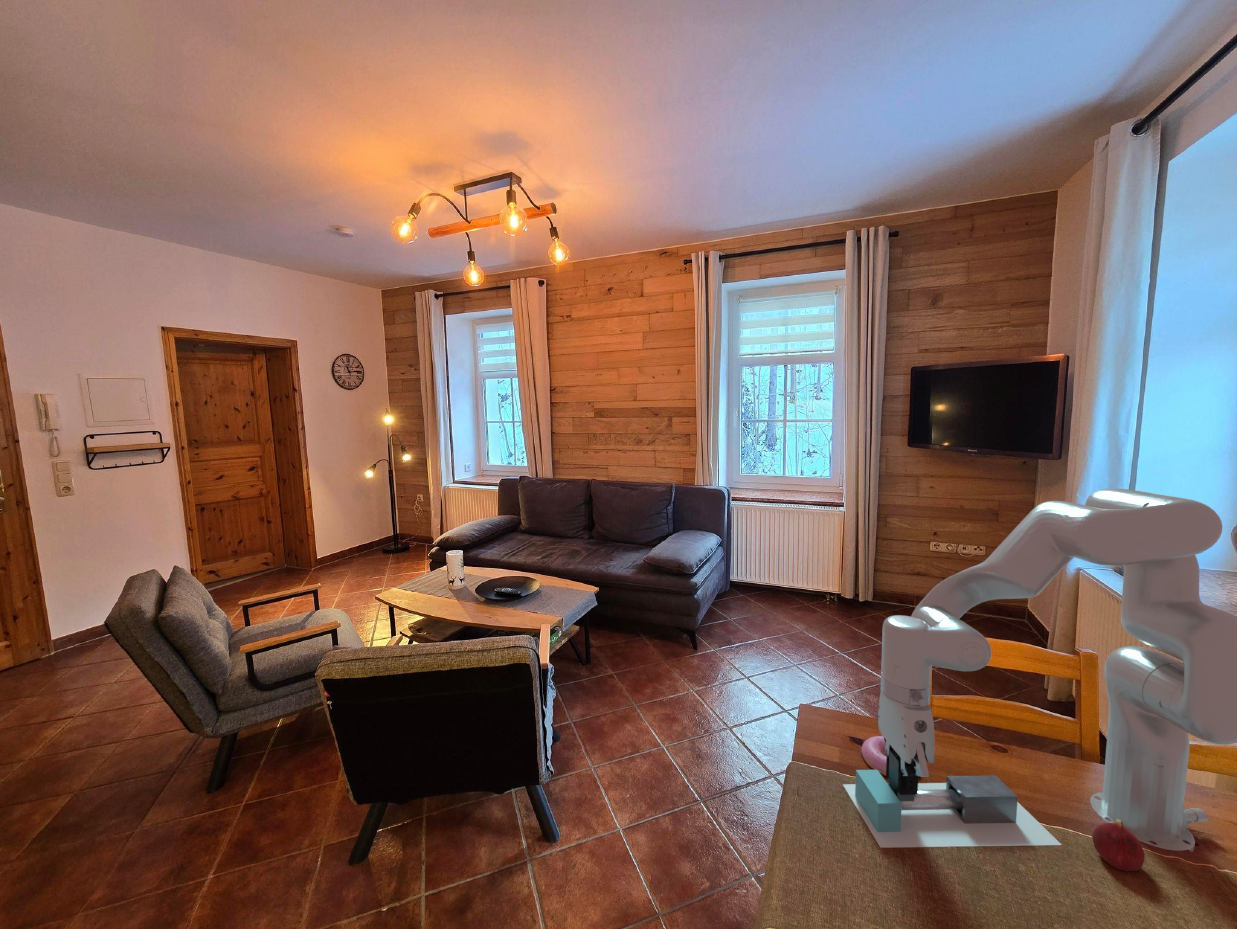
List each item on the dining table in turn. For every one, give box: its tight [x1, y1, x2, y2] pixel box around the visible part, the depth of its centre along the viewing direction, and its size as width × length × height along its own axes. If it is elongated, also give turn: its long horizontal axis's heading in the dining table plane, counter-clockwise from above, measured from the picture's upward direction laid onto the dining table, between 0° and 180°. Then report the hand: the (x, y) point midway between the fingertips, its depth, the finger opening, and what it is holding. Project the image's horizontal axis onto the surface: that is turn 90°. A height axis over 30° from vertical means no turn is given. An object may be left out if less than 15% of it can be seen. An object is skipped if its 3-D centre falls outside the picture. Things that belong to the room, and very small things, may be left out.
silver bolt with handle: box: [887, 750, 963, 810], centre depth 88 cm, size 19×3×10 cm, turn 90°
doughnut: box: [861, 734, 888, 776], centre depth 101 cm, size 11×11×4 cm
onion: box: [1091, 819, 1146, 872], centre depth 78 cm, size 6×6×8 cm
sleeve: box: [945, 775, 1019, 824], centre depth 88 cm, size 9×5×5 cm, turn 90°
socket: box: [855, 769, 902, 832], centre depth 88 cm, size 4×8×5 cm, turn 0°
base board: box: [842, 782, 1063, 849], centre depth 88 cm, size 30×14×1 cm, turn 90°
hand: (901, 784), depth 88 cm, fingers closed on silver bolt with handle, 3 cm apart
